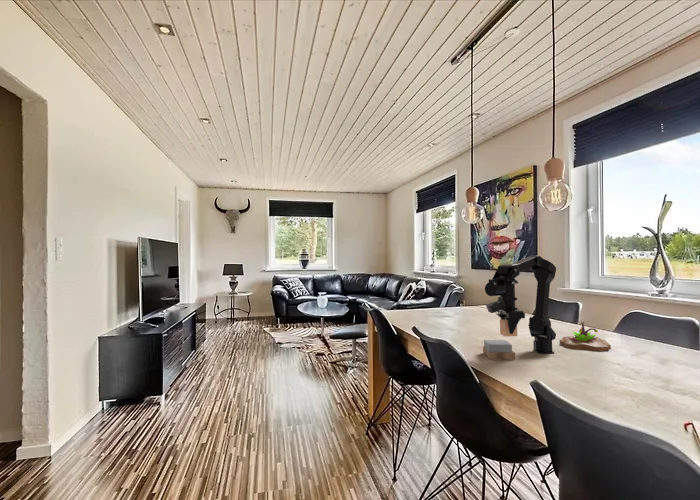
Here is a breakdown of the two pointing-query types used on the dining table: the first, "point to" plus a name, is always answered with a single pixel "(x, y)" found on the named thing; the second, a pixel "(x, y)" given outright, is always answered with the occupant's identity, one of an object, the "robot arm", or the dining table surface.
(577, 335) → the plant
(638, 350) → the dining table surface
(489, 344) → the tower top
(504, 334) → the terracotta block
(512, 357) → the tower base
